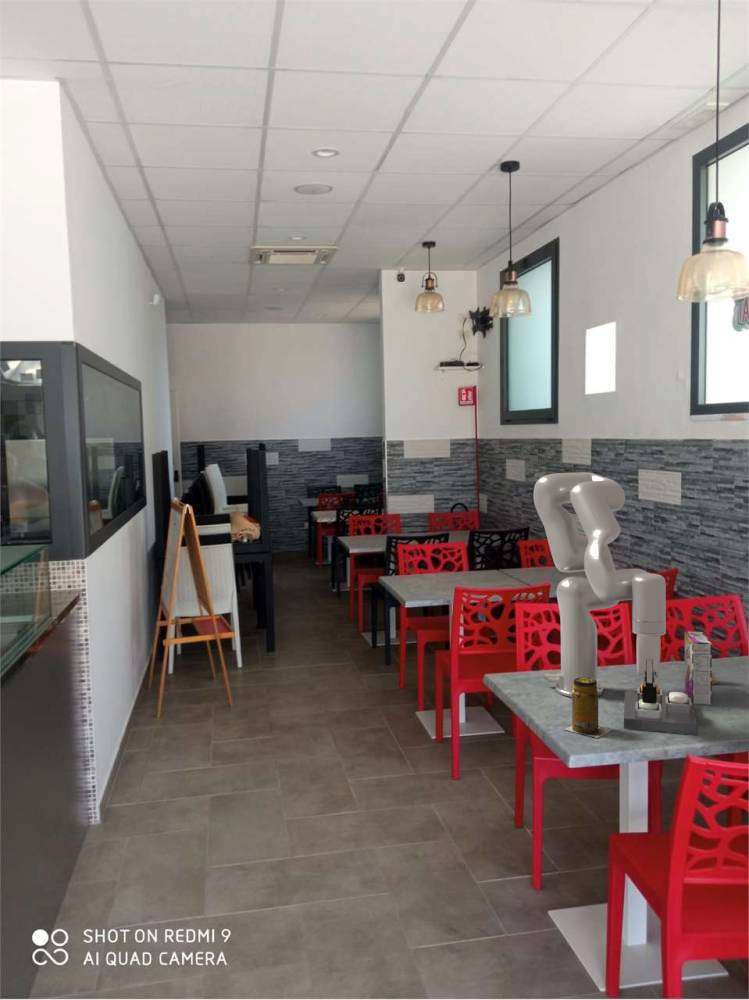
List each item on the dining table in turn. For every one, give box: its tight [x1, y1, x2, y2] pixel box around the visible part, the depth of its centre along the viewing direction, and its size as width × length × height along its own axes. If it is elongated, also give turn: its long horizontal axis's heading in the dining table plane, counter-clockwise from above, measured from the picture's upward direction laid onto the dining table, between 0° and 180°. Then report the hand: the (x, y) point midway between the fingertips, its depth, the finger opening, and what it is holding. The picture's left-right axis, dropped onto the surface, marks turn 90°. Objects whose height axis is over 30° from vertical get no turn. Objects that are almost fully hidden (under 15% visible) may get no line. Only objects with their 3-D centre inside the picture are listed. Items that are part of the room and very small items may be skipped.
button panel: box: [623, 685, 698, 736], centre depth 192 cm, size 16×20×4 cm
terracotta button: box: [640, 682, 660, 694], centre depth 198 cm, size 4×4×2 cm
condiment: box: [564, 677, 613, 739], centre depth 184 cm, size 7×8×12 cm
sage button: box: [639, 699, 658, 711], centre depth 187 cm, size 4×4×2 cm
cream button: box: [668, 691, 688, 705], centre depth 190 cm, size 4×4×2 cm
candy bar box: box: [684, 631, 713, 706], centre depth 204 cm, size 11×5×16 cm, turn 168°
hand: (649, 701), depth 186 cm, fingers closed
